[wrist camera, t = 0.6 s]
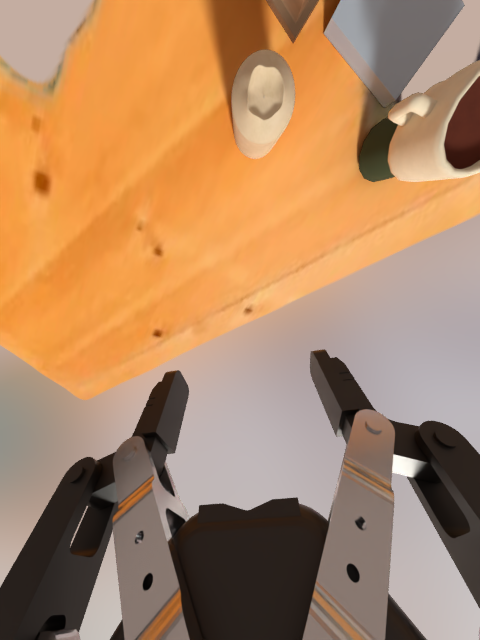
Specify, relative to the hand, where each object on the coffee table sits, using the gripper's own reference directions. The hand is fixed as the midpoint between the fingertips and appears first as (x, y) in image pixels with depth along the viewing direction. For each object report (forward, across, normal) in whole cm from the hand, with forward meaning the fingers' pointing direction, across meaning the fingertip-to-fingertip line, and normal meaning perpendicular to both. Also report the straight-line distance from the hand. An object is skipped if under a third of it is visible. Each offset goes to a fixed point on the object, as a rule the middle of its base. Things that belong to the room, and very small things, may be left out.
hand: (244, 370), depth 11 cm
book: (+24, -19, -20) cm, 37 cm away
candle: (+25, -5, -15) cm, 29 cm away
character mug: (+25, -21, -10) cm, 34 cm away
